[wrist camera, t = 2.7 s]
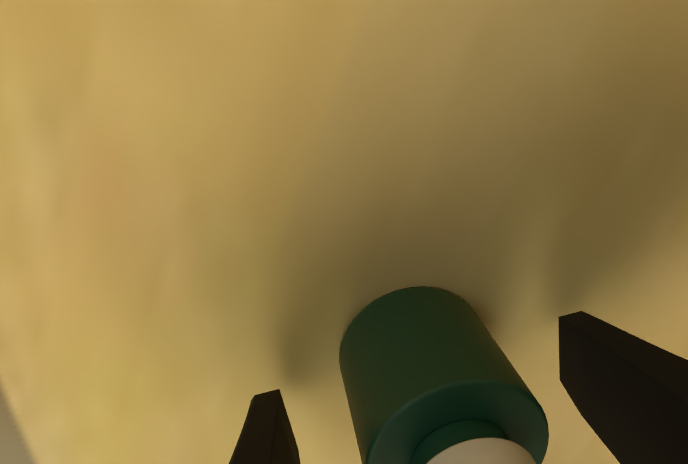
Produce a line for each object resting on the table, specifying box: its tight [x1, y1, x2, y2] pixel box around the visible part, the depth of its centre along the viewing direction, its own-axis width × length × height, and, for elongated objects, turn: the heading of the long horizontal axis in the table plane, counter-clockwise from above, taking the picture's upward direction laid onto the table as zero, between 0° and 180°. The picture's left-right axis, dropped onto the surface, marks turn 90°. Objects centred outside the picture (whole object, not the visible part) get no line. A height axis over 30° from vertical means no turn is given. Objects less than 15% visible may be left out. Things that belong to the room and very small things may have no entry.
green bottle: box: [339, 287, 549, 464], centre depth 12 cm, size 4×4×5 cm
